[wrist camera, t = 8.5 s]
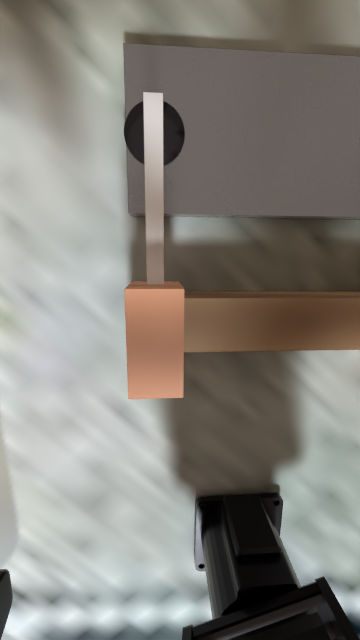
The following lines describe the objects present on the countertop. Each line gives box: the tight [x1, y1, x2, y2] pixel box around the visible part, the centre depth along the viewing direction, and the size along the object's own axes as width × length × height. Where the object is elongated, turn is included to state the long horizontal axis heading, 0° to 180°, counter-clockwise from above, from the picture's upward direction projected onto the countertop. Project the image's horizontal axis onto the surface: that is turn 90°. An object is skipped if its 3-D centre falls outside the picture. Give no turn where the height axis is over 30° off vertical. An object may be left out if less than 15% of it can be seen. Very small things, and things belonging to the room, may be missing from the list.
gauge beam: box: [125, 92, 360, 399], centre depth 15 cm, size 13×20×6 cm, turn 90°
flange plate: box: [123, 43, 360, 219], centre depth 16 cm, size 8×20×1 cm, turn 90°
